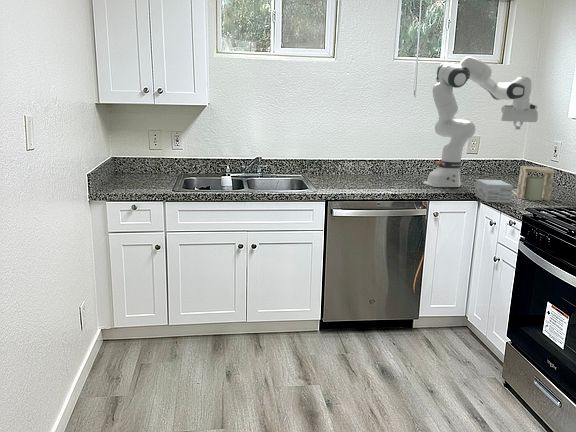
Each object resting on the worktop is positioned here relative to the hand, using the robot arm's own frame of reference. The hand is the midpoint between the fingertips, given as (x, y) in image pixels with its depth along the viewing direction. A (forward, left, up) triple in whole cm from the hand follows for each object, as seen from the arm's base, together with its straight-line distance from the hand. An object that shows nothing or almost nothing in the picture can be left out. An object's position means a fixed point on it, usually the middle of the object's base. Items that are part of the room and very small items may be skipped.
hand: (517, 129), depth 302 cm
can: (-18, -35, -34) cm, 52 cm away
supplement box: (-41, -30, -34) cm, 61 cm away
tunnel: (-13, -28, -34) cm, 46 cm away
